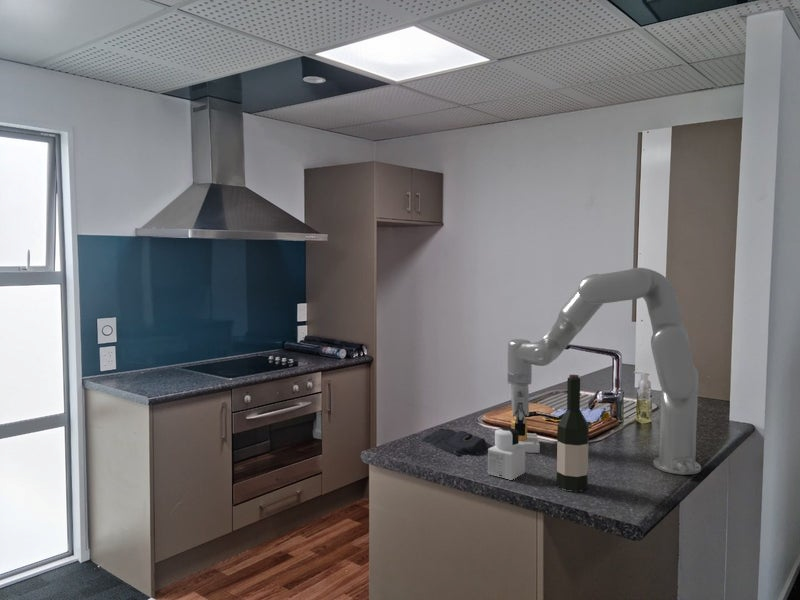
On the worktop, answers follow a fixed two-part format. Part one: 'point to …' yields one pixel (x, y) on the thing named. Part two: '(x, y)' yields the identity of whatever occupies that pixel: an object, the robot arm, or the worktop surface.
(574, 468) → the wine bottle
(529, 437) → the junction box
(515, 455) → the container
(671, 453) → the robot arm
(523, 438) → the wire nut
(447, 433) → the black folded cloth
